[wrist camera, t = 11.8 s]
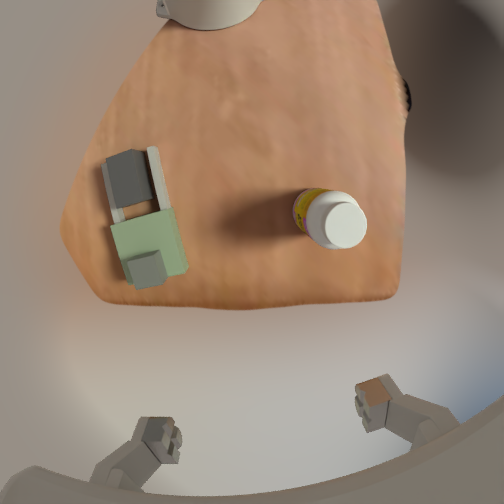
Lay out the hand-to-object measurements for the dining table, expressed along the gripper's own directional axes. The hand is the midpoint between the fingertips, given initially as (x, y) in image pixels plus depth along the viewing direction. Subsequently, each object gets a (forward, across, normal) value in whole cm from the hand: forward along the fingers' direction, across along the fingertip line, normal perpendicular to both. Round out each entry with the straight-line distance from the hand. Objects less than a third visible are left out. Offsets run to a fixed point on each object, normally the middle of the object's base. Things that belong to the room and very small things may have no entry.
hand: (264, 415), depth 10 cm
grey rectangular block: (+31, +14, -14) cm, 36 cm away
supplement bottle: (+31, -10, -4) cm, 33 cm away
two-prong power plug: (+31, +14, -8) cm, 34 cm away
